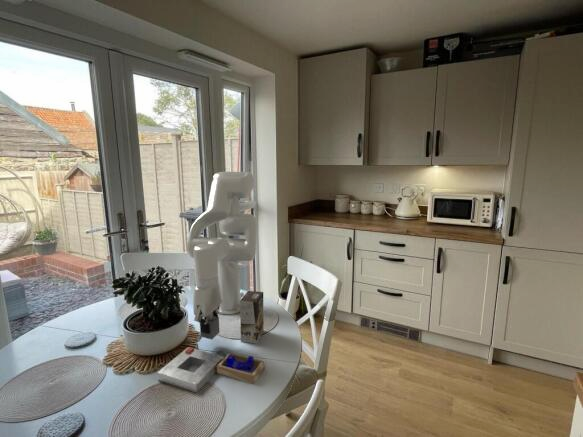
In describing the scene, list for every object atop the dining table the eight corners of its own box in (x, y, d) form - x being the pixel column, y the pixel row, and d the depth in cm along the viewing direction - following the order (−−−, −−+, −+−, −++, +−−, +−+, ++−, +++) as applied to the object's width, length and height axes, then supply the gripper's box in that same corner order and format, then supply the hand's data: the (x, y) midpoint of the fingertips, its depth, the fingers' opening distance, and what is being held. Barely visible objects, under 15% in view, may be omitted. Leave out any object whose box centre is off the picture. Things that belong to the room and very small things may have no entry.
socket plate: (188, 353, 109) (188, 345, 108) (223, 363, 104) (223, 354, 103) (157, 379, 96) (157, 370, 95) (196, 392, 91) (196, 382, 91)
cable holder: (225, 372, 100) (225, 361, 99) (229, 365, 103) (229, 354, 103) (250, 375, 99) (250, 363, 98) (253, 367, 102) (253, 356, 102)
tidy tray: (230, 359, 106) (230, 352, 106) (264, 368, 102) (264, 361, 101) (217, 373, 99) (216, 365, 99) (253, 383, 95) (253, 376, 94)
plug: (208, 329, 115) (207, 304, 113) (219, 332, 113) (218, 306, 111) (200, 336, 111) (198, 310, 109) (211, 339, 109) (210, 313, 107)
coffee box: (257, 343, 115) (256, 302, 112) (240, 341, 116) (239, 300, 113) (264, 330, 124) (264, 291, 121) (248, 328, 125) (247, 289, 122)
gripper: (212, 269, 116) (214, 314, 121) (181, 289, 101) (185, 340, 105) (230, 272, 114) (232, 318, 118) (200, 293, 98) (204, 345, 103)
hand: (209, 328), depth 112 cm, fingers closed on plug, 4 cm apart
